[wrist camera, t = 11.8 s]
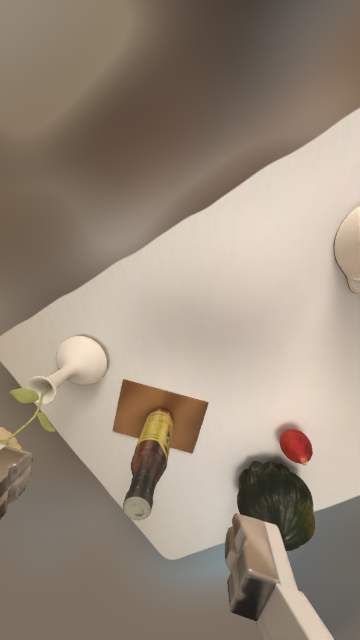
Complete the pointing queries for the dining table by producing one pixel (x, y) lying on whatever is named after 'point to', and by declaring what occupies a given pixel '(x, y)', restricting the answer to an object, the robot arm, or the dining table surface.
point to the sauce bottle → (148, 463)
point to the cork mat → (145, 399)
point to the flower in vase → (60, 379)
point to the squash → (277, 501)
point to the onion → (296, 446)
